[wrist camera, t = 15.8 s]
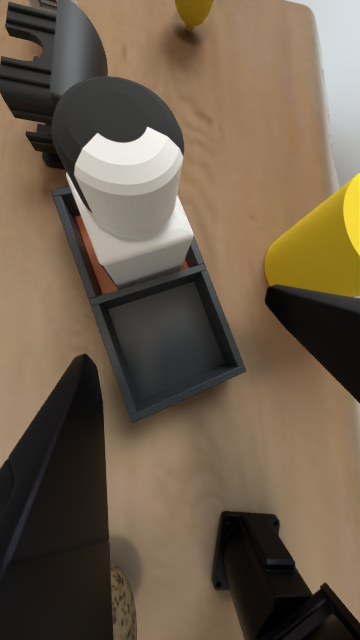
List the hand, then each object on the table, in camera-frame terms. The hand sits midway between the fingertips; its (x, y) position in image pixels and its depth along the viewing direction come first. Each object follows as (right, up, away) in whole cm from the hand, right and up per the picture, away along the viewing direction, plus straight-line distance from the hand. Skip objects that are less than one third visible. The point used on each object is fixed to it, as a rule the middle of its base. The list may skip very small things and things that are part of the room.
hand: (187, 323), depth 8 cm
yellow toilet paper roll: (+15, +7, +15) cm, 23 cm away
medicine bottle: (-5, +8, +11) cm, 14 cm away
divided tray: (-4, +3, +12) cm, 13 cm away
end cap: (-12, +22, +13) cm, 28 cm away
